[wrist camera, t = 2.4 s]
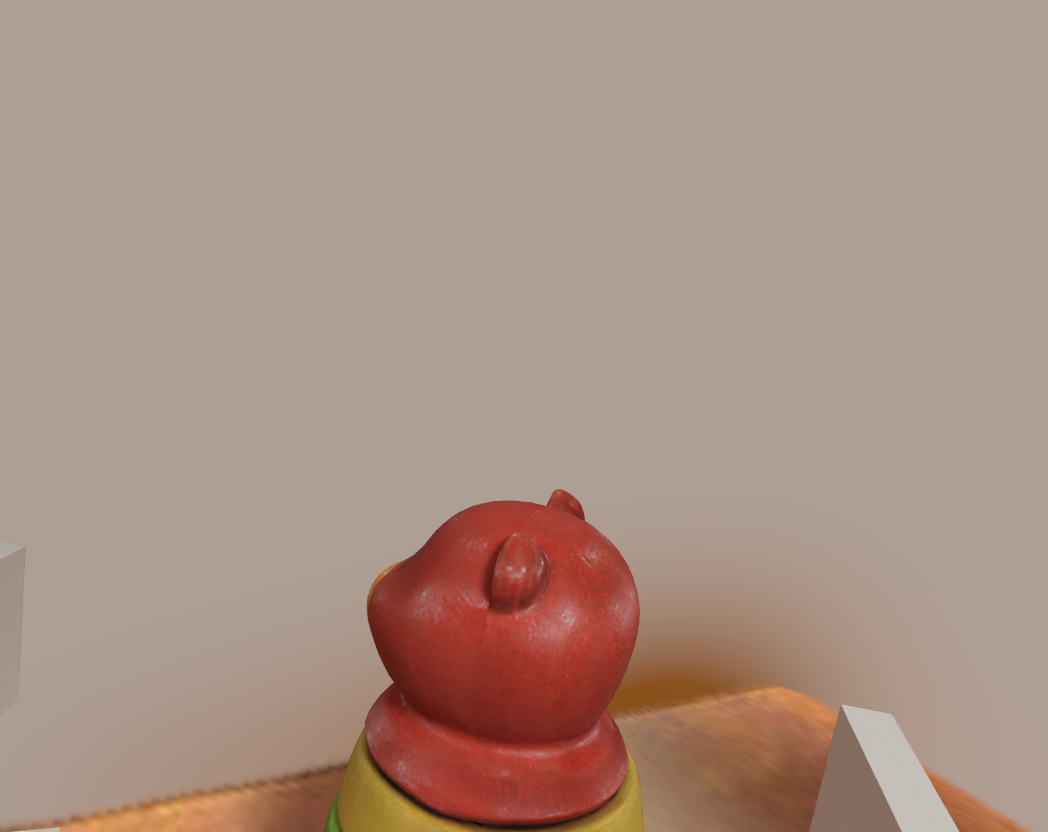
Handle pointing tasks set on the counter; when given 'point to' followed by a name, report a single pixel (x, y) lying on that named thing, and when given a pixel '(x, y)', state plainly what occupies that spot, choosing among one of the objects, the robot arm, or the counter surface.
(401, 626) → the stacking bear
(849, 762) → the robot arm
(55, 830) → the collar
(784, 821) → the counter surface
